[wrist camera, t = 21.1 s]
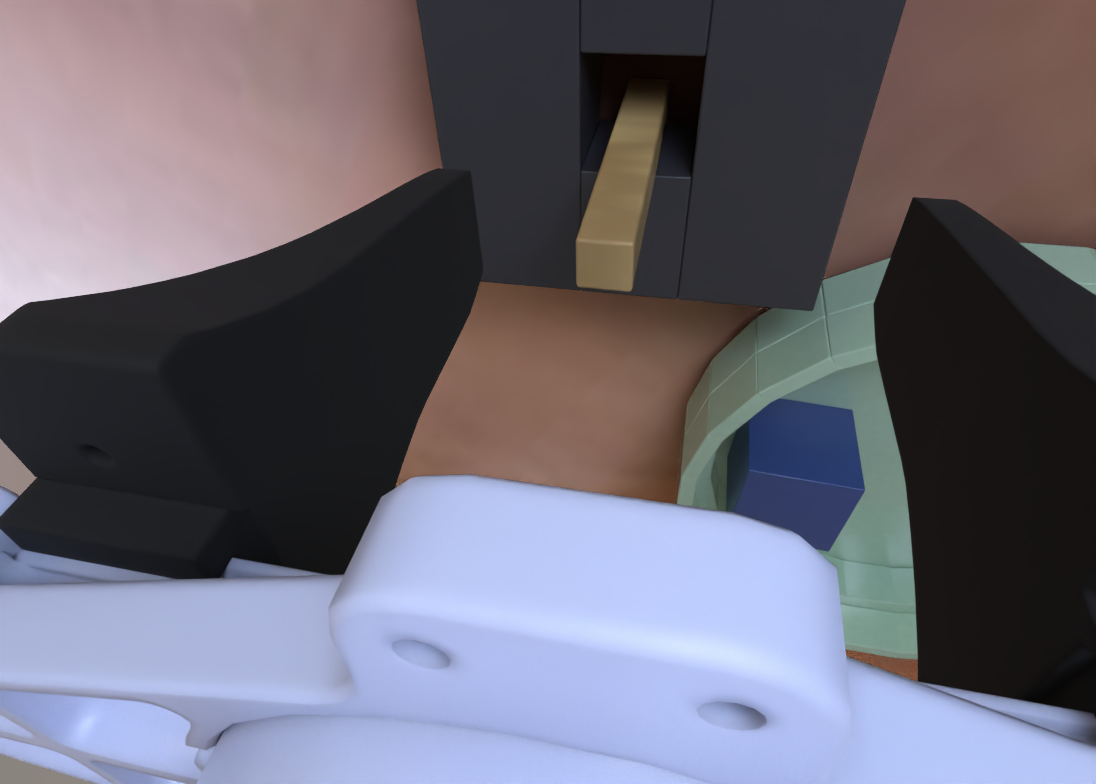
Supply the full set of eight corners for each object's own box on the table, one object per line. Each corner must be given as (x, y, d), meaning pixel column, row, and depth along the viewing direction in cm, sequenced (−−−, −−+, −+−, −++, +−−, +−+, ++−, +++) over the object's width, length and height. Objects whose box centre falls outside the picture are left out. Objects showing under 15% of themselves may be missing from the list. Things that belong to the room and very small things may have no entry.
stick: (670, 78, 19) (634, 244, 13) (666, 120, 20) (631, 293, 14) (629, 77, 20) (574, 239, 13) (627, 118, 20) (575, 288, 14)
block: (853, 409, 26) (865, 490, 23) (821, 473, 29) (829, 552, 26) (748, 392, 26) (748, 470, 24) (727, 457, 29) (725, 533, 27)
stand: (922, -187, 15) (958, -170, 12) (805, 248, 22) (813, 312, 20) (443, -172, 16) (390, -155, 14) (488, 224, 24) (459, 280, 22)
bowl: (1415, 260, 19) (1550, 366, 16) (1068, 600, 32) (1103, 694, 29) (715, 212, 22) (710, 292, 19) (666, 539, 35) (658, 617, 32)
